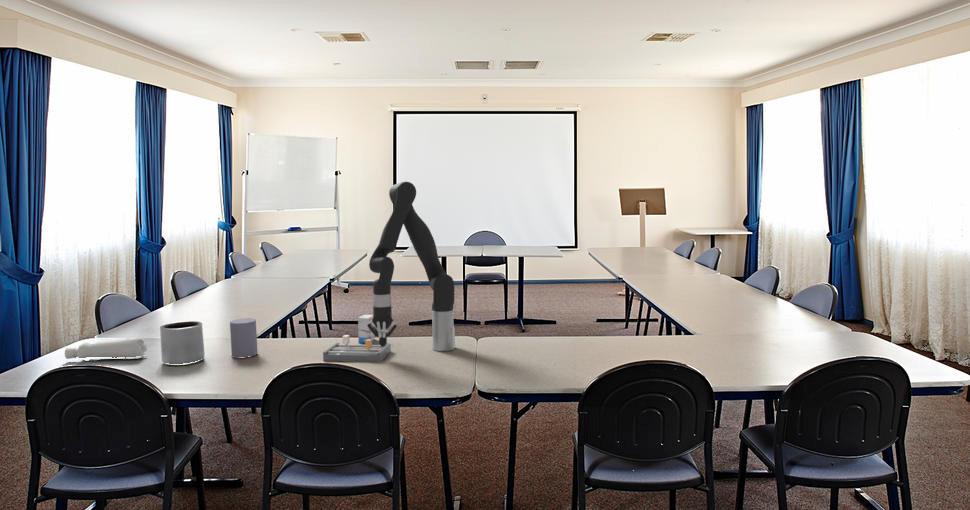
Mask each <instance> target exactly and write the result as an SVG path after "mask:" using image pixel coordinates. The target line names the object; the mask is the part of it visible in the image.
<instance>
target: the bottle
mask: <svg viewBox="0 0 970 510" xmlns="http://www.w3.org/2000/svg"><path fill="white" fill-rule="evenodd" d="M147 349H148V346H147V344H146V343H145V339H144V338H142V337H128V338H123V339H116V340H107V341H97V342H93V343H91V342H84V343H82V344H80V345H79V346H78V347H67V348H66V349H65V351H64V357H65V359H66V360H70V359H77V358H78V359H79V358H86V357H112V358H114V357H115V358H117V357H125V358H126V357H136V356H142V355H145V353H146V352H147V351H148V350H147ZM76 357H77V358H76Z"/></svg>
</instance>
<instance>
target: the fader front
mask: <svg viewBox="0 0 970 510" xmlns="http://www.w3.org/2000/svg"><path fill="white" fill-rule="evenodd" d="M364 345H365V349H367V352H370V348H371V347H372V345H373V341H372V339H367V340H366V341H365V343H364Z"/></svg>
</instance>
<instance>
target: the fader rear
mask: <svg viewBox="0 0 970 510" xmlns="http://www.w3.org/2000/svg"><path fill="white" fill-rule="evenodd" d="M350 342H351V341H350V334H344V335H342V345H345V347H348V345H349V344H350Z"/></svg>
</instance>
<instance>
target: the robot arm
mask: <svg viewBox="0 0 970 510" xmlns="http://www.w3.org/2000/svg"><path fill="white" fill-rule="evenodd" d="M388 194H389V200H390V202H391V203H392V205H393V210H392V213H391V215H390V216H389V218H388V220H387V221H386V223H385V225H384V228H383V229H382V232H381V236H380V239H379V242H378V245H377V246H376V248H375V250H374V251H373V253H371V254H372V255H371V256H370V259H369V264H368V265H369V266H368V267H369V269H370V271H371V272H373V273H375V274H379V277H378V278H377V279H375V280H373V282H372V283H373V285H372V289H373V291H372V294H373V295H372V297H373V298H372V315H373V319H372V322H371V323H369V324H368V325H367V326H368V328H369V329H370V330H371V331H372V333H373V334H374V335H375V337H378V340H379V342H378V345H381V347H385V345H387V344H388V342H387V341H388V338H389V337H390V336H391V335H392V334H393V332H395V330H396V329H397V327H398V326H399V324H398V323H396V322H394V320H393V319H394V318H393V314H392V312H393V311H392V305H393V304H392V294H391V290H392V288H391V286H392V285H391V283H392V280H393V275H394V271H395V263H394V261H393V259H392V258H391V257H390V256H389V254H392V253H394V252H395V250H396V248H397V245H398V241H399V239H400V234H401V232H402V229H403V227H404V229H405V231H406V233H407V236H408V237H409V240H410V242H411V245H412V247H413V249H414V251H415V253H416V254H417V257H418V258H419V260H420V262H421V264H422V266H423V268H424V270H425V273H426V277H427V279H428V284H429V287H430V288H431V290H432V291H433V292H432V293H433V294H432V295H433V296H432V297H433V301H432V304H431V320H432V321H431V322H432V324H431V326H432V330H431V331H432V332H431V333H432V350H434V351H437V352H449V351H453V350H455V348H456V336H455V335H456V334H455V333H456V331H455V328H456V327H455V325H454V305H455V282H454V279H453V277H452V276H451V275H450V274H447V272H446V271H445V269H444V267H443V266H442V263H441V261H440V259H439V255H438V249H437V245H436V241H435V239H434V236H433V234H432V232H431V229H429V226H428V225H427V224H426V223H425V222H424V220H423V219H422V218H421V217H420V216H419V214H418V213H417V212H416V210H415V208H414V205H413V204H414V202H415V199H416V197H417V189H416V186H415V185H414V184H413V183H412V182H410V181H401V182H398V183H395V184H393V185H392V186H391V187H390V188H389V191H388ZM374 325H375V327H374ZM390 327H391V329H390V330H388V329H389V328H390Z"/></svg>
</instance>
